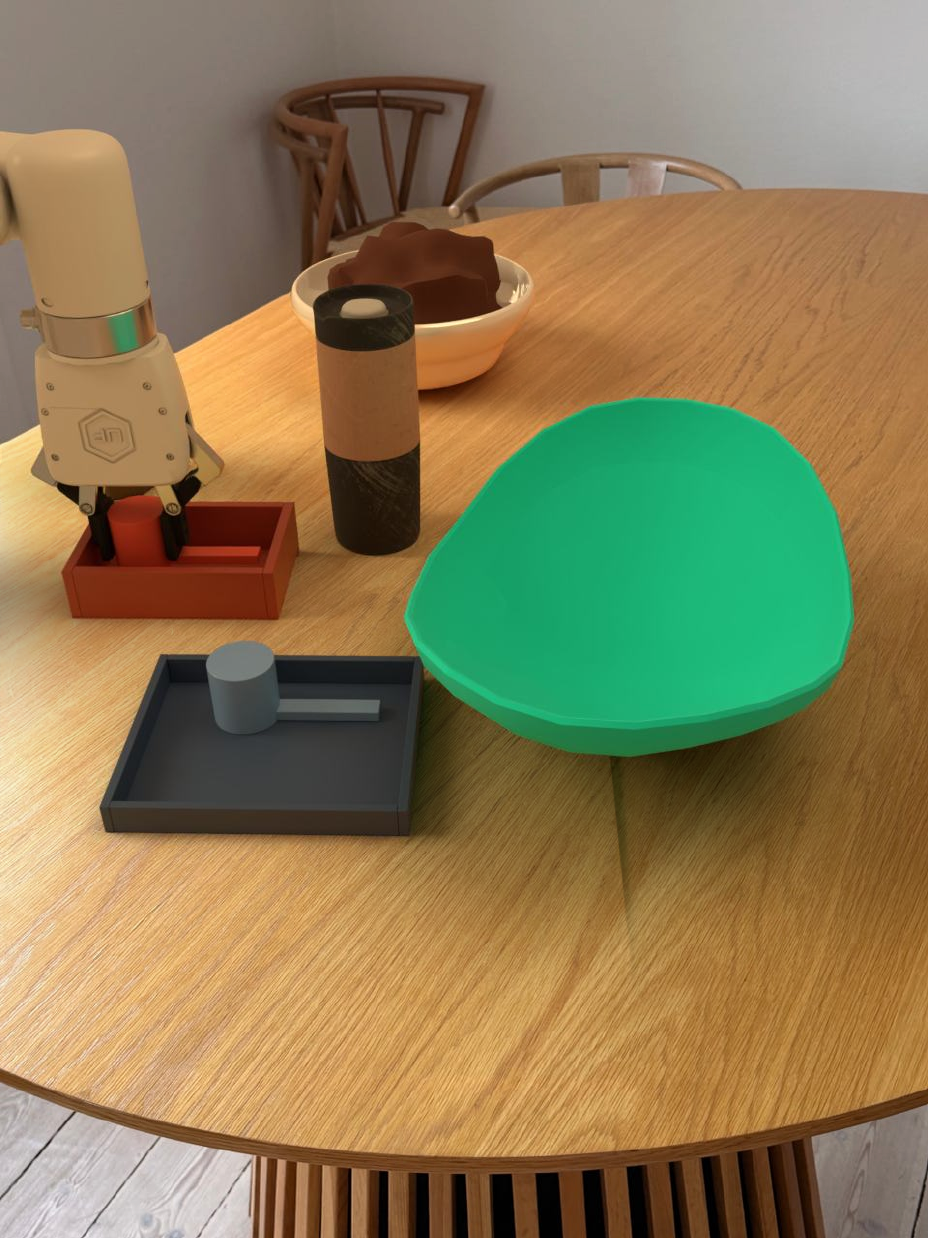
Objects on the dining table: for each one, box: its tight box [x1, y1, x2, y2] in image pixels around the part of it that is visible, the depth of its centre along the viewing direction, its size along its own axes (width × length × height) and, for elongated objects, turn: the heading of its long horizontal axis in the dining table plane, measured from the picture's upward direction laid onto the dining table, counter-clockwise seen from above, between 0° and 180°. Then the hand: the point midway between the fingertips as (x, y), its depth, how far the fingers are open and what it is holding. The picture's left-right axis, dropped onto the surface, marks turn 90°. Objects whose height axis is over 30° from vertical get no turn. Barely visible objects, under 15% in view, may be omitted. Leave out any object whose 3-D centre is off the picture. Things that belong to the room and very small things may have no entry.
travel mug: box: [313, 284, 421, 556], centre depth 96 cm, size 8×8×20 cm
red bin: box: [60, 500, 300, 621], centre depth 94 cm, size 16×11×4 cm
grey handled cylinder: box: [206, 640, 381, 735], centre depth 80 cm, size 11×4×4 cm, turn 88°
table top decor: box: [403, 396, 855, 758], centre depth 79 cm, size 40×28×13 cm
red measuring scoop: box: [107, 494, 262, 567], centre depth 93 cm, size 11×4×4 cm, turn 88°
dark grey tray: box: [98, 653, 425, 838], centre depth 78 cm, size 18×15×2 cm
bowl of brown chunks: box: [289, 221, 536, 391], centre depth 125 cm, size 25×25×15 cm
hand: (144, 549), depth 94 cm, fingers closed on red measuring scoop, 4 cm apart
